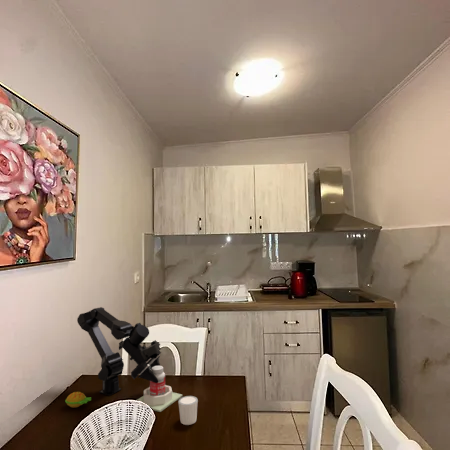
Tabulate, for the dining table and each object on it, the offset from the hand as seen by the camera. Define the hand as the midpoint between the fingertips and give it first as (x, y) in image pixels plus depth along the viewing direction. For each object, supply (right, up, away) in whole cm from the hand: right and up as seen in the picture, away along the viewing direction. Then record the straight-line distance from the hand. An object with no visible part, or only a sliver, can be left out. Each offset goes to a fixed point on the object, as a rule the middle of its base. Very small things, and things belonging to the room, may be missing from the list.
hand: (160, 378), depth 129 cm
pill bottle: (-1, -7, 0) cm, 7 cm away
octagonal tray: (-1, -8, 0) cm, 8 cm away
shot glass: (+13, -7, -16) cm, 22 cm away
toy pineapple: (-32, -9, -4) cm, 33 cm away
